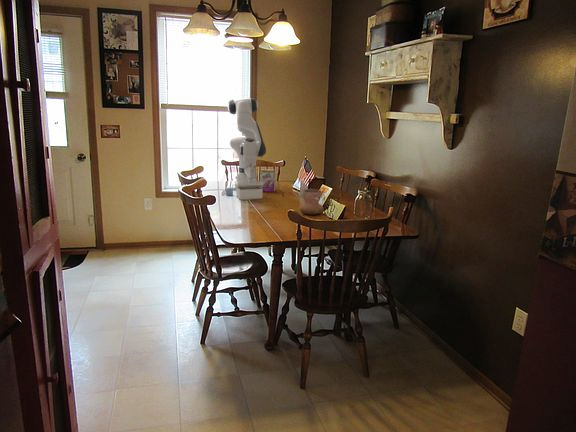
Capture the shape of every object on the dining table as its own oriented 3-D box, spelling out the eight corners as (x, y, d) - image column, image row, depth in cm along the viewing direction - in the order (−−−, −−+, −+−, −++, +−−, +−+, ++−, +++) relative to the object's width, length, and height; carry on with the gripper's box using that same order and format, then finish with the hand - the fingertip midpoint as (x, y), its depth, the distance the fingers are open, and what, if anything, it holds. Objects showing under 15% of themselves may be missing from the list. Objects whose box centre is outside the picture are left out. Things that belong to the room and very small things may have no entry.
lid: (236, 188, 310) (235, 185, 310) (259, 187, 315) (258, 184, 315) (239, 185, 298) (239, 183, 298) (263, 184, 303) (262, 182, 303)
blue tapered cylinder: (225, 194, 319) (225, 187, 318) (232, 194, 320) (232, 187, 319) (226, 195, 314) (226, 188, 313) (233, 195, 316) (233, 188, 314)
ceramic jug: (328, 216, 262) (329, 192, 259) (305, 217, 258) (305, 193, 254) (316, 209, 279) (317, 187, 275) (294, 211, 274) (295, 188, 271)
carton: (236, 196, 312) (236, 186, 311) (258, 195, 317) (258, 185, 315) (239, 200, 301) (239, 190, 300) (262, 198, 306) (262, 189, 304)
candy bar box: (259, 191, 330) (259, 169, 326) (260, 190, 335) (260, 168, 331) (274, 192, 329) (274, 170, 325) (275, 190, 334) (275, 169, 330)
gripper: (257, 164, 292) (257, 185, 296) (251, 160, 311) (251, 180, 314) (248, 165, 290) (248, 185, 294) (242, 160, 309) (242, 180, 313)
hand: (249, 182), depth 304 cm, fingers closed
